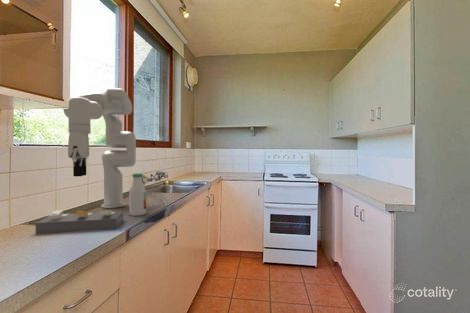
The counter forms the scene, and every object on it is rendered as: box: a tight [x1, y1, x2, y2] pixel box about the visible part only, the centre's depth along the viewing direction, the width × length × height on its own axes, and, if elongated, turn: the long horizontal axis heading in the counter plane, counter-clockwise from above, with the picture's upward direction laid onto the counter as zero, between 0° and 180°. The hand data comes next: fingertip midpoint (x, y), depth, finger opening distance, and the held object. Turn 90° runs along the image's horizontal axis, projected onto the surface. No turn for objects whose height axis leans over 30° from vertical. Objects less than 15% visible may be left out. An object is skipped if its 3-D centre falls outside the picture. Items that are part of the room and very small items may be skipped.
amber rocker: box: [75, 210, 89, 216], centre depth 106 cm, size 5×3×2 cm, turn 13°
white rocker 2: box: [99, 209, 112, 214], centre depth 108 cm, size 5×3×2 cm, turn 13°
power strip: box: [35, 210, 124, 234], centre depth 107 cm, size 14×28×4 cm, turn 103°
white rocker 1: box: [48, 209, 64, 219], centre depth 103 cm, size 5×3×2 cm, turn 13°
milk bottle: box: [128, 173, 147, 217], centre depth 128 cm, size 8×8×20 cm
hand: (80, 175), depth 104 cm, fingers open, 3 cm apart
